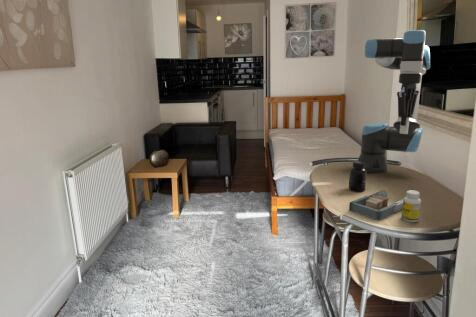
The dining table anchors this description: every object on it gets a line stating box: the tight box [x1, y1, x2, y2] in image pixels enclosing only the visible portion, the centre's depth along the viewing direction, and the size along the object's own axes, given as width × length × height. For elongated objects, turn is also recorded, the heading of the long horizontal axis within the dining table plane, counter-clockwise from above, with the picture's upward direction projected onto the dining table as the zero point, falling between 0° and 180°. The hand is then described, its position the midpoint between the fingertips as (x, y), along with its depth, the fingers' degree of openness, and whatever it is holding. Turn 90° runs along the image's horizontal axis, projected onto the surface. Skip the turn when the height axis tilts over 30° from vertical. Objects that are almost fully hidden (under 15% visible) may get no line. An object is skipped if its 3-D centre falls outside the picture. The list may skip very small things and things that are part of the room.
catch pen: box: [348, 195, 397, 221], centre depth 129 cm, size 11×12×3 cm
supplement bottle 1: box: [348, 160, 368, 193], centre depth 150 cm, size 7×7×12 cm
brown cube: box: [373, 195, 389, 209], centre depth 132 cm, size 4×4×4 cm
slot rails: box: [366, 189, 404, 215], centre depth 135 cm, size 14×12×2 cm
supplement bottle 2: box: [401, 189, 422, 223], centre depth 121 cm, size 5×5×10 cm
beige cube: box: [365, 198, 382, 210], centre depth 129 cm, size 4×4×4 cm
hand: (403, 133), depth 144 cm, fingers closed
